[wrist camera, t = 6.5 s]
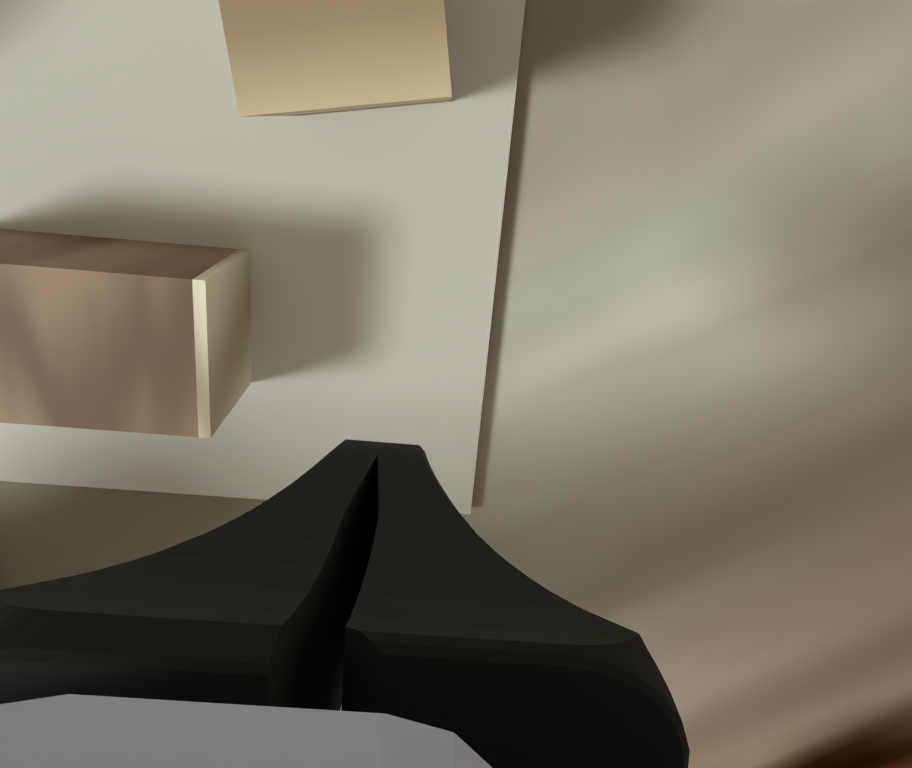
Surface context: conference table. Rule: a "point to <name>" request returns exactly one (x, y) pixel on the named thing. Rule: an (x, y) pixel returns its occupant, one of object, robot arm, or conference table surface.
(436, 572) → the robot arm
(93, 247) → the walnut block
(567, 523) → the conference table surface
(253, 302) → the mat
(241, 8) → the oak block
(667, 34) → the conference table surface
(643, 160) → the conference table surface
